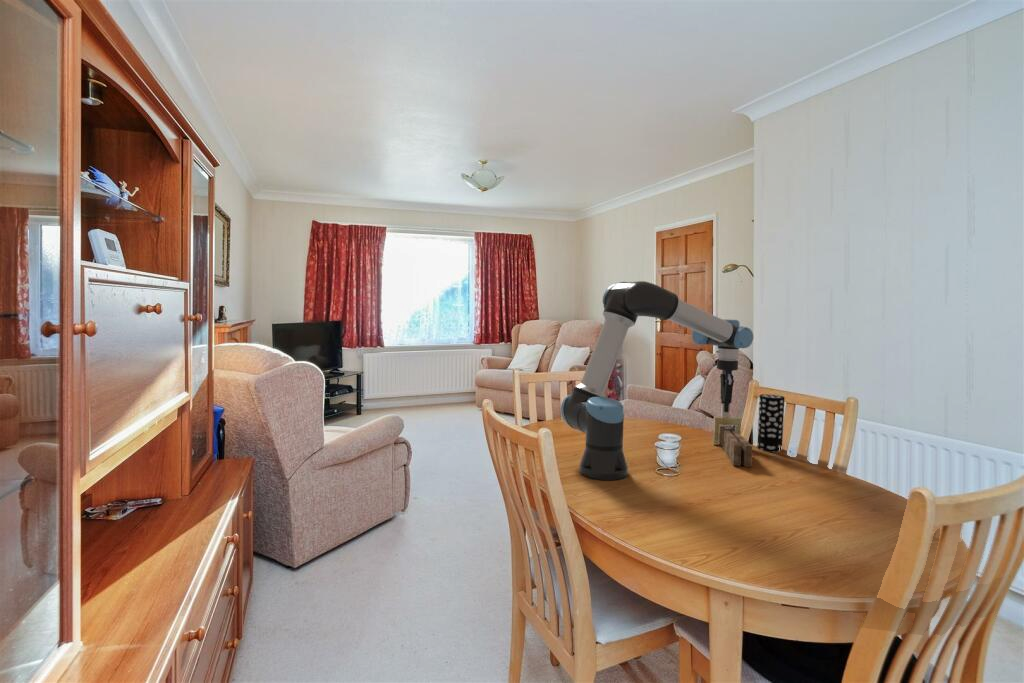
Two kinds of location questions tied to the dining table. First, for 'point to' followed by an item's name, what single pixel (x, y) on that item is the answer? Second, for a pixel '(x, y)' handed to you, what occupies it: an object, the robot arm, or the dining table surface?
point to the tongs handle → (721, 433)
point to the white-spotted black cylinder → (770, 422)
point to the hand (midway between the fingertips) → (725, 419)
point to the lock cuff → (725, 421)
